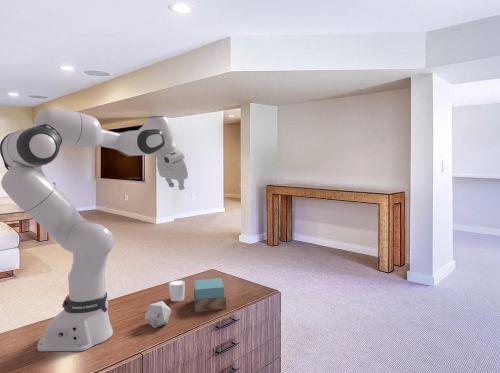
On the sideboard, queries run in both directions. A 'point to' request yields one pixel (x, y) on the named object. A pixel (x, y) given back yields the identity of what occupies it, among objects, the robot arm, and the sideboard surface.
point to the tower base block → (210, 303)
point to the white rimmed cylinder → (177, 290)
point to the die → (158, 314)
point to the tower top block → (209, 288)
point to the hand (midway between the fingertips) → (176, 188)
